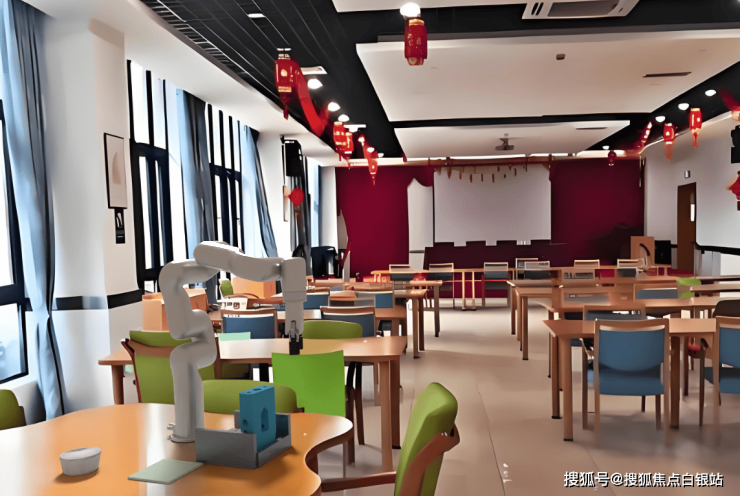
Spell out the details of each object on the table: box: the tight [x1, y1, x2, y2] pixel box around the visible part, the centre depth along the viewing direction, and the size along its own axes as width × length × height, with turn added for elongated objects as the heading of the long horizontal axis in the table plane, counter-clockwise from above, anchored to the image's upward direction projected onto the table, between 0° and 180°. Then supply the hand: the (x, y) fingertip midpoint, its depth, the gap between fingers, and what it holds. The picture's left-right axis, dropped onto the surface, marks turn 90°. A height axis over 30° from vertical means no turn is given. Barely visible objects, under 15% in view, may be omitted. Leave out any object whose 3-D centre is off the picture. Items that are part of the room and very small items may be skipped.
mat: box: [127, 458, 204, 485], centre depth 177 cm, size 14×15×1 cm
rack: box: [194, 409, 292, 470], centre depth 190 cm, size 20×22×10 cm
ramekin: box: [58, 446, 102, 477], centre depth 181 cm, size 11×11×5 cm
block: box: [238, 384, 276, 451], centre depth 188 cm, size 12×5×20 cm, turn 152°
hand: (296, 352), depth 192 cm, fingers open, 9 cm apart
